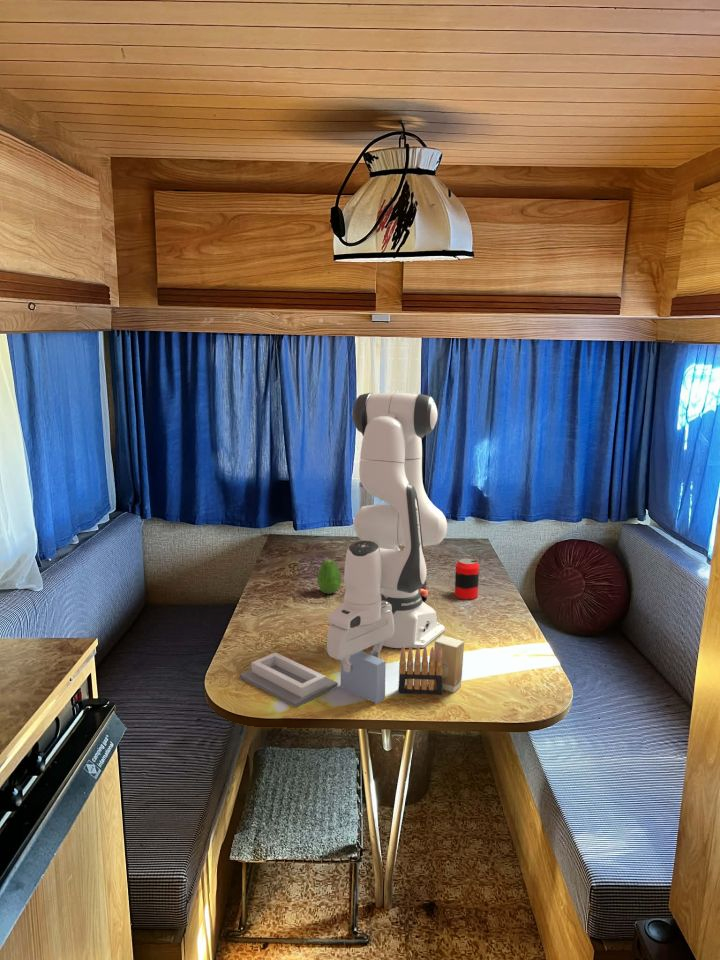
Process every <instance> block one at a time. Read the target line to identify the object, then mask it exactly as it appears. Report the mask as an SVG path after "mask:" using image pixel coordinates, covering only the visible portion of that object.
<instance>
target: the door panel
mask: <svg viewBox="0 0 720 960" xmlns="http://www.w3.org/2000/svg"><path fill="white" fill-rule="evenodd" d="M348 660H349V662H350V663H352V664H353V670H352V671H350V672H345V671H344V669H343V663H342V661H341V660H340V682H339V683H340V686H341V687H340V688H342V687H343V689H344V688H345V689H344V690H346V689H347V690H346V691H348V690H349V691H348V692H350V691H351V693H353V694H355V695H357V694H358V695H357V696H359V695H360V696H359V697H361V696H362V697H361V698H363V697H364V698H363V699H365V698H366V700H367V699H369V700H370V701H369V700H368V701H369V702H371V701H372V702H371V703H373V702H375V703H374V704H375V705H377V704H380V703H381V702H383V701H384V699H385V700H386V666H387V665H386V660H384V659H382V658H380V657H379V658H377V657H375V656H373V655H370V653H368V652H365V651H364V650H361V651H359V652H357V653H355V654H352V655H350V659H348ZM382 700H383V701H382ZM380 701H381V702H380Z"/></svg>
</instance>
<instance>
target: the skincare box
mask: <svg viewBox="0 0 720 960" xmlns="http://www.w3.org/2000/svg"><path fill="white" fill-rule="evenodd" d="M439 648H441V651H442V664H443V668H442V690H444V691H447V692H450V693H455V692H457V691H458V690H459V689H460V688H461V687H462V681H463V680H462V679H463V664H464V663H463V662H464V650H465V641H463V640H460V639H458V638H453V637H450V636H446V635H444V634H441V635H440V636H438V637H437V639H434V647H433V649H434V653H435V672H436V662H437V653H438V649H439Z"/></svg>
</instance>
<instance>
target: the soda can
mask: <svg viewBox="0 0 720 960" xmlns="http://www.w3.org/2000/svg"><path fill="white" fill-rule="evenodd" d="M479 576H480V565H479V563H478V562H477V561H476V559H473V558H460V559H459V560H458V561H457V562H456V564H455V578H454V579H455V580H454V581H455V582H454V596H455V597H456V596H457V597H458V598H457V599H460V598H461V599H460V600H464V599H472V600H475V599H476V598H478V597H479V596H478V595H479V578H480V577H479ZM474 598H475V599H474Z"/></svg>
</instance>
